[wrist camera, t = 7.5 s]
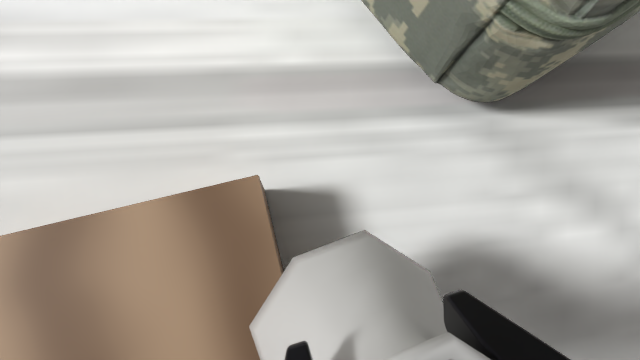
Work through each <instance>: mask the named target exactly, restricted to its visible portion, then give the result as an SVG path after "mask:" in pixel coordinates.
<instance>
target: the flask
mask: <svg viewBox="0 0 640 360" xmlns="http://www.w3.org/2000/svg"><path fill="white" fill-rule="evenodd" d="M249 328H250V331H251V334H252V337H253V340H254V343H255V346H256V349H257V351H258V354H259V357H260V360H285V355H286V350H287V348H288V346H289V345H292V344H295V343H298V342H301V341H307V342H308V345H309V348H310V351H311V355H312V358H313V360H491V359H490V358H488V357H486V356H485V355H483V354H482V353H480V352H479V351H477V350H476V349H474V348H472V347H471V346H469V345H468V344H466V343H465V342H463V341H462V340H460V339H458V338H457V337H455V336H454V335H452V334H451V333H449V332H447V330H446V327H445V324H444V309H443V302H442V299H441V297H440V294H439V292H438V290H437V287H436V285H435V282H434V280H433V277H432V275H431V272H430V271H429V270H427V269H425V268H424V267H422V266H421V265H419V264H418V263H416V262H414V261H413V260H411V259H410V258H408V257H407V256H405V255H403V254H402V253H400V252H399V251H397V250H396V249H394V248H392V247H391V246H389V245H388V244H386V243H385V242H383V241H381V240H380V239H378V238H377V237H375V236H374V235H372V234H370V233H369V232H367V231H366V230H363V231H360V232H358V233H355V234H353V235H350V236H347V237H345V238H342V239H340V240H337V241H334V242H332V243H329V244H327V245H324V246H321V247H319V248H316V249H314V250H311V251H308V252H306V253H303V254H301V255H298V256H295V257H293V258H292V259H291V261H290V263H289V264H288V266H287V267H286V269H285V271H284V272H283V274H282V275H281V277H280V278H279V280H278V282H277V283H276V285H275V286H274V288H273V289H272V291H271V293H270V294H269V296H268V297H267V299H266V300H265V302H264V304H263V305H262V307H261V308H260V310H259V312H258V313H257V315H256V316H255V318H254V319H253V321H252V323H251V324H250V326H249Z"/></svg>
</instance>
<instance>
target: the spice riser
mask: <svg viewBox="0 0 640 360" xmlns="http://www.w3.org/2000/svg"><path fill="white" fill-rule="evenodd" d="M283 272H284V271H283V267H282V263H281V259H280V254H279V250H278V246H277V242H276V237H275V233H274V229H273V225H272V220H271V216H270V212H269V208H268V203H267V199H266V195H265V191H264V188H263V185H262V183H261V181H260V178H259V176H258V175H255V176H251V177H247V178H242V179H238V180H234V181H230V182H225V183H221V184H217V185H213V186H209V187H204V188H200V189H196V190H192V191H188V192H183V193H179V194H175V195H171V196H167V197H162V198H158V199H154V200H150V201H145V202H141V203H137V204H133V205H129V206H124V207H120V208H116V209H112V210H108V211H103V212H99V213H95V214H91V215H86V216H82V217H78V218H74V219H70V220H65V221H61V222H57V223H53V224H49V225H44V226H40V227H36V228H32V229H28V230H23V231H19V232H15V233H11V234H6V235H2V236H0V360H260V357H259V354H258V351H257V349H256V346H255V343H254V340H253V337H252V334H251V331H250V328H249V326H250V324H251V323H252V321H253V319H254V318H255V316H256V315H257V313H258V312H259V310H260V308H261V307H262V305H263V304H264V302H265V300H266V299H267V297H268V296H269V294H270V293H271V291H272V289H273V288H274V286H275V285H276V283H277V282H278V280H279V278H280V277H281V275H282V274H283Z"/></svg>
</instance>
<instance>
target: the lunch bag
mask: <svg viewBox="0 0 640 360" xmlns="http://www.w3.org/2000/svg"><path fill="white" fill-rule="evenodd" d="M362 1H363V3H364V4H365V5H366V6H367V8H368V9H369V10H370V11H371V12H372V14H373V15H374V16H375V17H376V18H377V19H378V21H379V22H380V23H381V24H382V25H383V27H384V28H385V29H386V30H387V32H388V33H389V34H390V35H391V36H392V38H393V39H394V40H395V41H396V42H397V44H398V45H399V46H400V47H401V48H402V49H403V50H404V51H405V52H406V54H407V55H408V56H409V57H410V58H411V59H412V60H413V61H414V62H415V63H416V64H417V65H419V66H420V67H421V68H422V70H423V71H424V72H425V73H426V74H427V75H428V76H429V77H430V78H431V80H432V81H433V82H434V83H439V84H441V85H442V86H444V87H445V88H446V89H448V90H449V91H450V92H452V93H454V94H456V95H458V96H460V97H462V98H465V99H468V100H472V101H478V102H492V101H497V100H500V99H503V98H505V97H507V96H510V95H512V94H513V93H515V92H517V91H519V90H521V89H523V88H525V87H526V86H528V85H529V84H531V83H532V82H534V81H536V80H537V79H539V78H540V77H542V76H543V75H545V74H546V73H548V72H550V71H551V70H553V69H554V68H556V67H557V66H559V65H560V64H562V63H563V62H565V61H567V60H568V59H570V58H571V57H573V56H574V55H576V54H577V53H579V52H580V51H582V50H583V49H585V48H586V47H588V46H589V45H591V44H592V43H594V42H595V41H597V40H598V39H600V38H601V37H603V36H604V35H606V34H607V33H609V32H610V31H611V30H613V29H614V28H616V27H618V26H619V25H621V24H622V23H624V22H625V21H626V20H628V19H629V18H630V17H632V16H633V15H635V14H636V13H637V12H638V11H639V10H640V0H362Z"/></svg>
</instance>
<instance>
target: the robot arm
mask: <svg viewBox="0 0 640 360" xmlns="http://www.w3.org/2000/svg"><path fill="white" fill-rule="evenodd" d="M443 309H444V324H445V327H446V330H447V332H449V333H451V334H452V335H454V336H455V337H457V338H458V339H460V340H462V341H463V342H465V343H466V344H468V345H469V346H471V347H472V348H474V349H476V350H477V351H479V352H480V353H482V354H483V355H485V356H486V357H488V358H490V359H491V360H570V359H569V358H567V357H566V356H564V355H563V354H561V353H560V352H558V351H557V350H555V349H554V348H552V347H550V346H549V345H547V344H546V343H544V342H543V341H541V340H540V339H538V338H537V337H535V336H534V335H532V334H530V333H529V332H527V331H526V330H524V329H523V328H521V327H520V326H518V325H517V324H515V323H514V322H512V321H510V320H509V319H507V318H506V317H504V316H503V315H501V314H500V313H498V312H497V311H495V310H494V309H492V308H490V307H489V306H487V305H486V304H484V303H483V302H481V301H480V300H478V299H477V298H475V297H474V296H472V295H470V294H469V293H467V292H466V291H463V290H458V291H455V292H452V293H449V294H446V295H445V296H444V299H443ZM285 360H313V358H312V355H311V351H310V348H309V345H308V342H307V341H301V342H298V343H295V344H292V345H289V346H288V348H287V350H286V355H285Z"/></svg>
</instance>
